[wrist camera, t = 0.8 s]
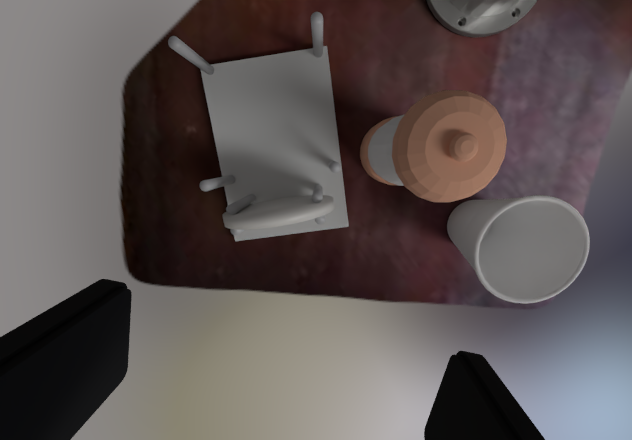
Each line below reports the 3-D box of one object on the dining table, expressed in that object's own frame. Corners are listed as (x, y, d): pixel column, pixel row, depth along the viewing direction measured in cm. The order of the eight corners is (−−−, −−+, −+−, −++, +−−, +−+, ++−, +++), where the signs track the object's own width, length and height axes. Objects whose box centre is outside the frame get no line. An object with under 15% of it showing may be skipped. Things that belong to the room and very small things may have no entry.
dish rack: (326, 49, 33) (329, -12, 21) (347, 224, 37) (359, 256, 25) (204, 69, 34) (138, 21, 22) (237, 238, 38) (198, 276, 26)
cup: (431, 185, 36) (478, 197, 25) (515, 181, 36) (598, 192, 25) (428, 263, 38) (470, 305, 27) (508, 260, 38) (582, 302, 27)
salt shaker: (387, 195, 36) (456, 237, 18) (346, 151, 35) (374, 145, 17) (434, 152, 35) (562, 148, 16) (393, 105, 34) (479, 44, 15)
